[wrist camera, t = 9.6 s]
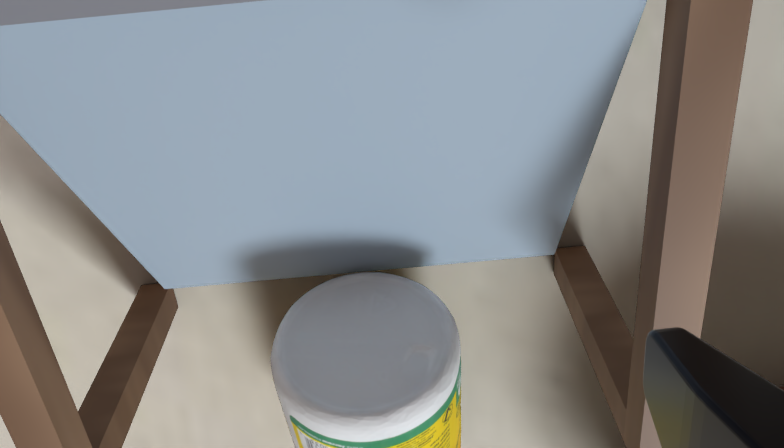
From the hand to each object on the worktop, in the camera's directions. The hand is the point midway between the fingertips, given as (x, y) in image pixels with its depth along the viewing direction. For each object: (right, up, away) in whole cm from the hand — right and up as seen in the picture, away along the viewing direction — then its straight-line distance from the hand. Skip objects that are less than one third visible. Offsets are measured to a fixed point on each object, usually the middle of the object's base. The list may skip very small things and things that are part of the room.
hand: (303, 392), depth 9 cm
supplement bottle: (0, -1, +10) cm, 10 cm away
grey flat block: (0, +6, +7) cm, 9 cm away
